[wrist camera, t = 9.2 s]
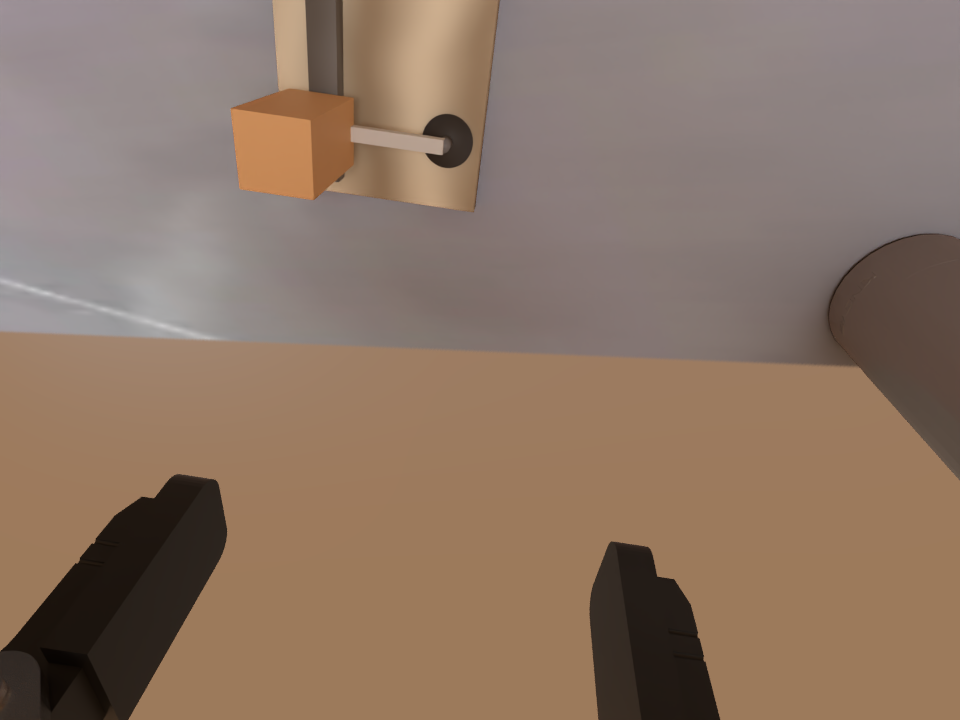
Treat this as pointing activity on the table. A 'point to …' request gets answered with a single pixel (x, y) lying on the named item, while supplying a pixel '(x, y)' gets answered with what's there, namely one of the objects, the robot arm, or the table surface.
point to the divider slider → (307, 142)
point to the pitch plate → (398, 86)
